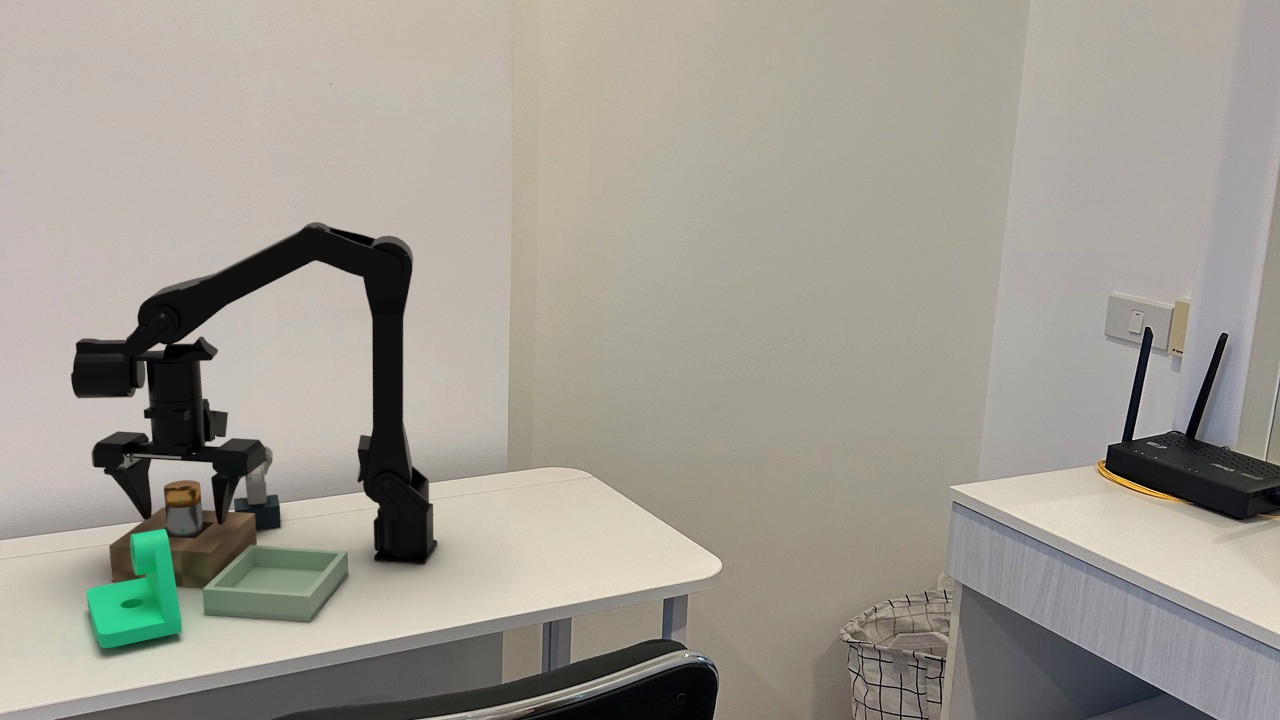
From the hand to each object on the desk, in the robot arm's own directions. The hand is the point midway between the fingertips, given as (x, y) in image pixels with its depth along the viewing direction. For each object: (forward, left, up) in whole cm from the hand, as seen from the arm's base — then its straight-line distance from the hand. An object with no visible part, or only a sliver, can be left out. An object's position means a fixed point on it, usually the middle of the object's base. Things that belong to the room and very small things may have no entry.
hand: (184, 520), depth 127 cm
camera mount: (-2, +15, -6) cm, 16 cm away
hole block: (0, 0, -6) cm, 6 cm away
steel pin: (0, 0, -6) cm, 6 cm away
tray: (-14, +6, -6) cm, 16 cm away
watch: (-3, -13, -6) cm, 15 cm away
